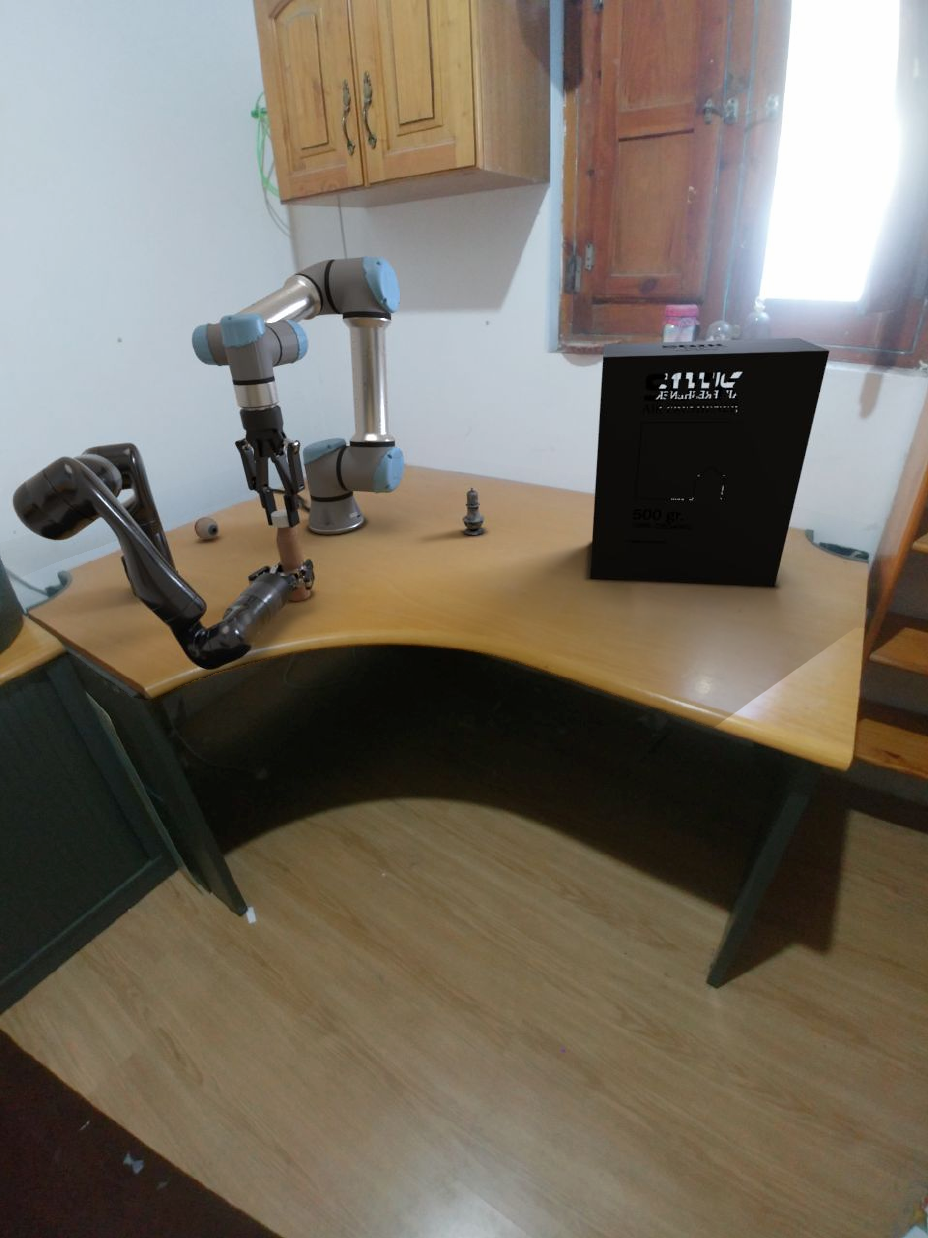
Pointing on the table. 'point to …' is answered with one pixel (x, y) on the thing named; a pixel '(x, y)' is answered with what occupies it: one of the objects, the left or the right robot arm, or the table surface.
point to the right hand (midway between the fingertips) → (284, 523)
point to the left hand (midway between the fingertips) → (298, 562)
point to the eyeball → (206, 528)
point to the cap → (280, 518)
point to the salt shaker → (473, 515)
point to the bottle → (291, 557)
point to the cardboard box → (701, 458)
